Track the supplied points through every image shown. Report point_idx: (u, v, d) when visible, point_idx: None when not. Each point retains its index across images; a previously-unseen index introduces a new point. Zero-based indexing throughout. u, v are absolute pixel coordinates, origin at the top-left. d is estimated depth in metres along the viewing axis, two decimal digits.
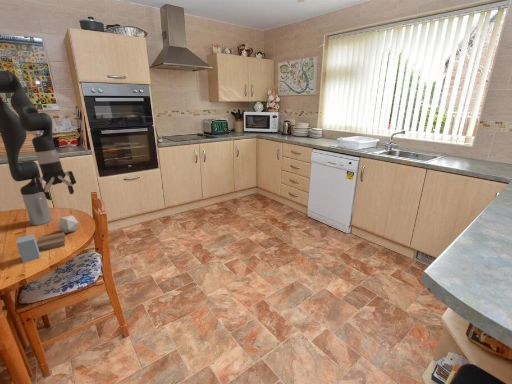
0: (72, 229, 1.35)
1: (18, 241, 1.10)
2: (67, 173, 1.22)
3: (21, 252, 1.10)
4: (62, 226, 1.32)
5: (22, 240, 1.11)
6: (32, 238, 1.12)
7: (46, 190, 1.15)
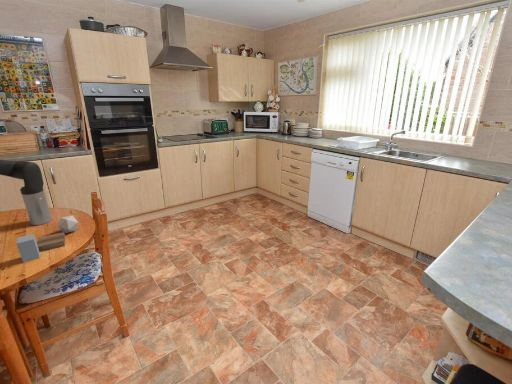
0: (72, 229, 1.35)
1: (18, 241, 1.10)
2: None
3: (21, 252, 1.10)
4: (62, 226, 1.32)
5: (22, 240, 1.11)
6: (32, 238, 1.12)
7: None
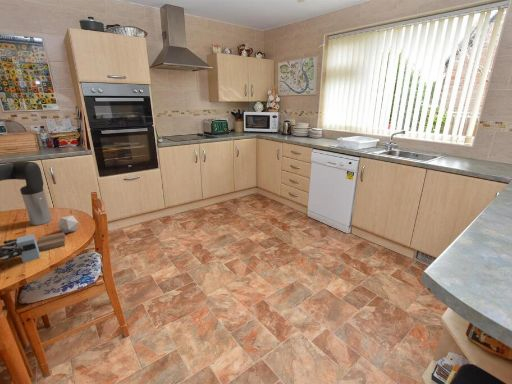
0: (72, 229, 1.35)
1: (18, 241, 1.10)
2: None
3: None
4: (62, 226, 1.32)
5: (22, 240, 1.11)
6: (32, 238, 1.12)
7: None
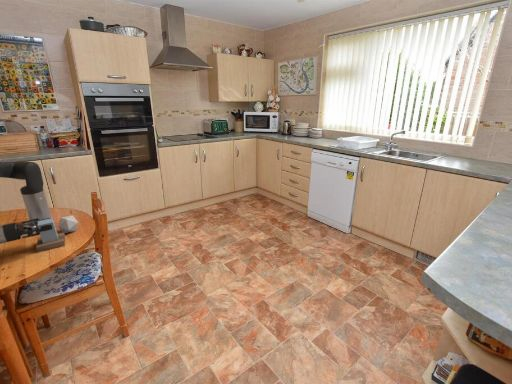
0: (72, 229, 1.35)
1: (39, 224, 1.19)
2: None
3: (41, 234, 1.20)
4: (62, 226, 1.32)
5: (42, 223, 1.20)
6: (51, 221, 1.22)
7: None
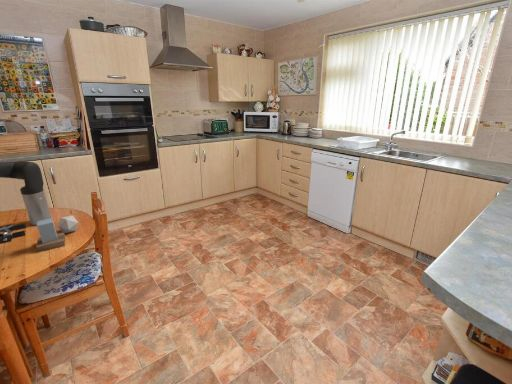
0: (72, 229, 1.35)
1: (38, 224, 1.19)
2: None
3: (41, 234, 1.20)
4: (62, 226, 1.32)
5: (42, 223, 1.20)
6: (51, 221, 1.22)
7: None
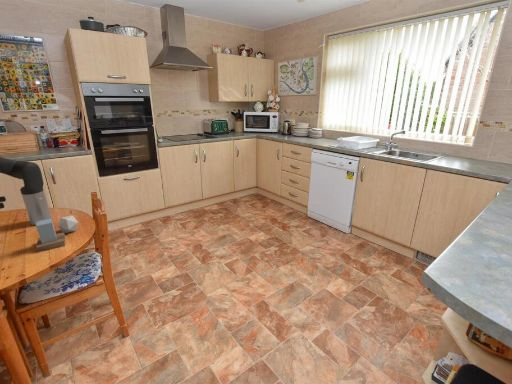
0: (72, 229, 1.35)
1: (37, 224, 1.19)
2: None
3: (40, 234, 1.19)
4: (62, 226, 1.32)
5: (41, 223, 1.20)
6: (50, 221, 1.21)
7: None
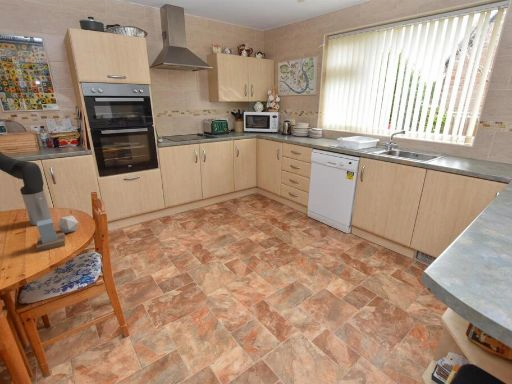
0: (72, 229, 1.35)
1: (38, 224, 1.19)
2: None
3: (41, 234, 1.19)
4: (62, 226, 1.32)
5: (42, 223, 1.20)
6: (51, 221, 1.21)
7: None
